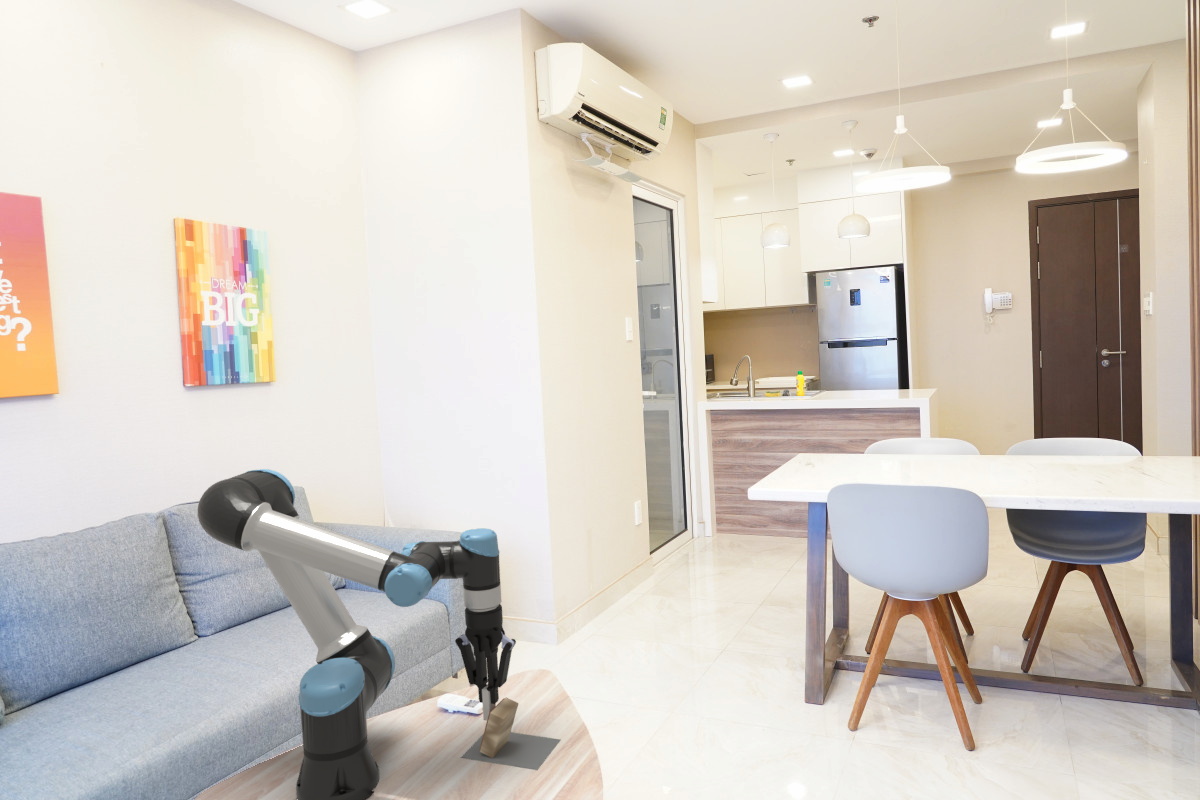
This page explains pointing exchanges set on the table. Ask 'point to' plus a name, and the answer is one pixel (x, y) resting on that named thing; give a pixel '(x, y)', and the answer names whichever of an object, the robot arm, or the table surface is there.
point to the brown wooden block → (498, 727)
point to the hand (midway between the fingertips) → (489, 717)
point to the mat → (517, 751)
